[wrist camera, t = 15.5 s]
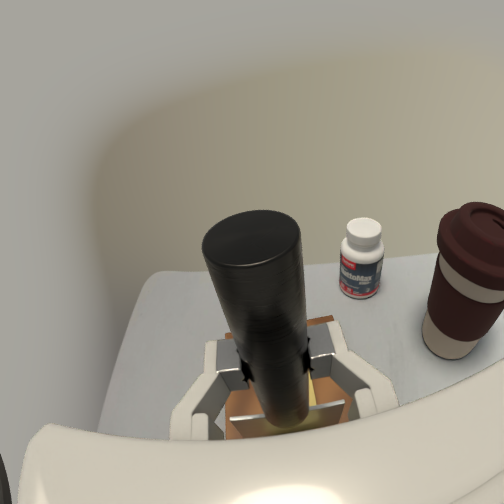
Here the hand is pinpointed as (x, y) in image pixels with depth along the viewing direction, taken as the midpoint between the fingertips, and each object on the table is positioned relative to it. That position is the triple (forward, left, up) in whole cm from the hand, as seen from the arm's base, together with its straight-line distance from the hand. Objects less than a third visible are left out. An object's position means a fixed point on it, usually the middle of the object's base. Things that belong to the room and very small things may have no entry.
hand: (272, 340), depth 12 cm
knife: (0, -1, -11) cm, 11 cm away
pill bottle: (+11, +18, -16) cm, 26 cm away
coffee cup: (+19, +6, -16) cm, 26 cm away
